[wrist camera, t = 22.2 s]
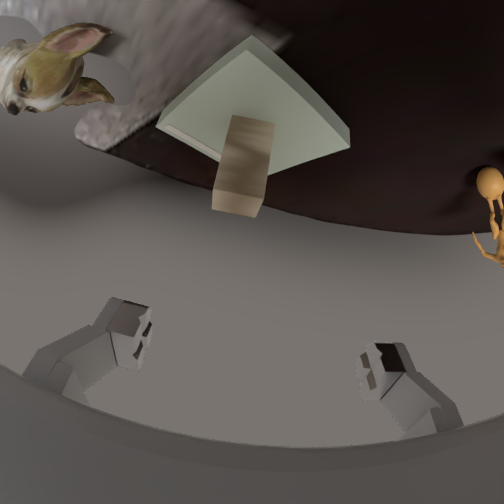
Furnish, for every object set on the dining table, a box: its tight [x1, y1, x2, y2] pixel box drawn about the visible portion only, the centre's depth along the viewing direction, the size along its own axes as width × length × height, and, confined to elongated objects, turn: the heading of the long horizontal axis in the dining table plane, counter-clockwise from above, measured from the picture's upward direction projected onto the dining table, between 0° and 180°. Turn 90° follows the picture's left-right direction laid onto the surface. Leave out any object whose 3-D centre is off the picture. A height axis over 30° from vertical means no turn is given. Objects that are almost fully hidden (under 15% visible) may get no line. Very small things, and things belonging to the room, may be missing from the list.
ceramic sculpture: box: [0, 23, 114, 115], centre depth 16 cm, size 11×9×15 cm
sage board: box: [156, 35, 350, 176], centre depth 26 cm, size 14×14×3 cm
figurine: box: [472, 167, 504, 268], centre depth 23 cm, size 8×6×12 cm
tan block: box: [212, 115, 275, 217], centre depth 25 cm, size 4×4×8 cm
